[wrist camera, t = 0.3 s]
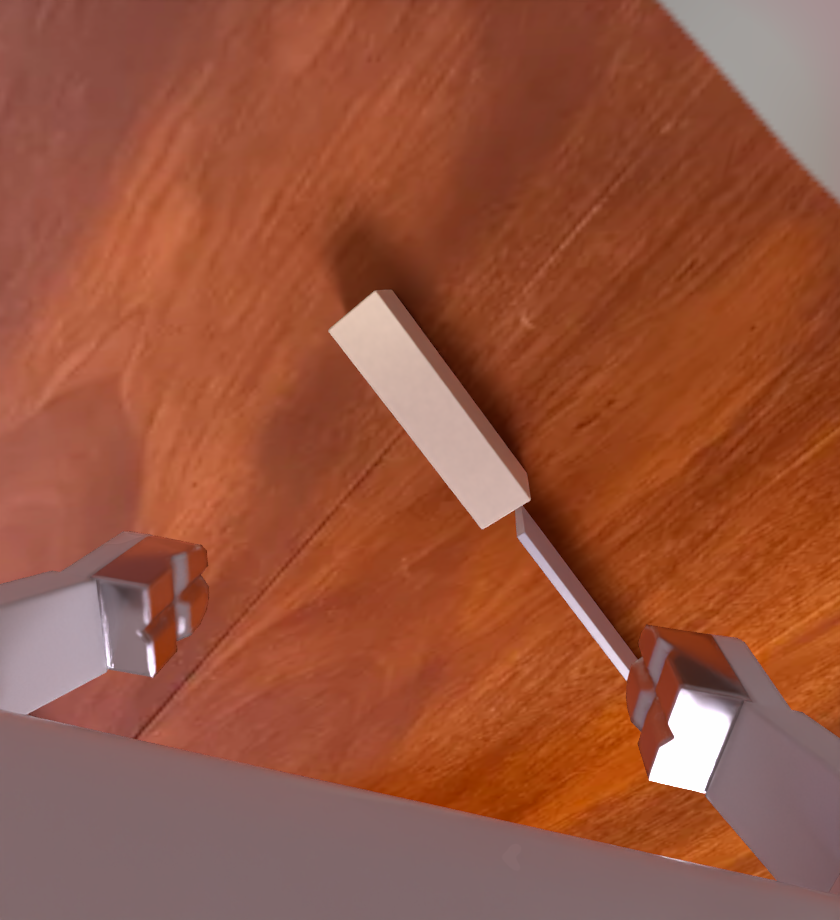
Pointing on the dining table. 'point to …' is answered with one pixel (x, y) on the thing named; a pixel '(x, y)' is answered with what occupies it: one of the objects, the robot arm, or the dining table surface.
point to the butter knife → (459, 441)
